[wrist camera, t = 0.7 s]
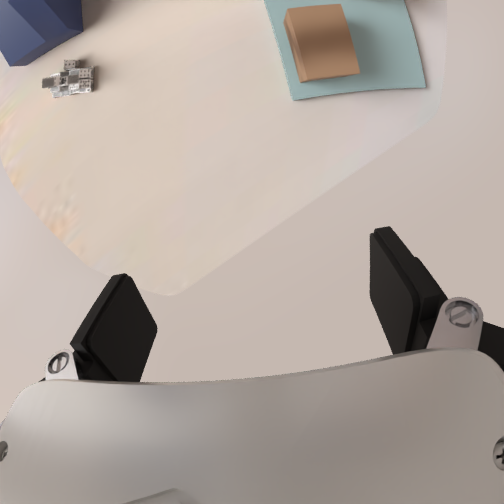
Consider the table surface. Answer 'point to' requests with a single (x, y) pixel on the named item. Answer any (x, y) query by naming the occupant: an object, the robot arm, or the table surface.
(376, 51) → the board
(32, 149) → the table surface
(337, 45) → the walnut brick
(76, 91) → the miniature building cluster
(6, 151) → the table surface
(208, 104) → the table surface
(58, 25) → the blue angular block
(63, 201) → the table surface
